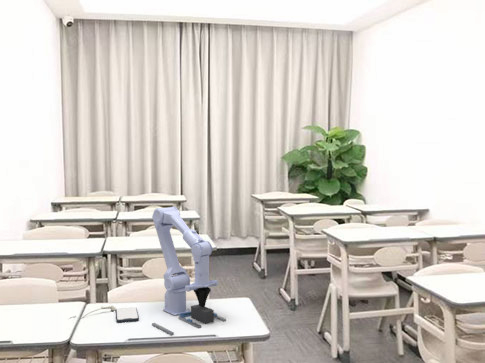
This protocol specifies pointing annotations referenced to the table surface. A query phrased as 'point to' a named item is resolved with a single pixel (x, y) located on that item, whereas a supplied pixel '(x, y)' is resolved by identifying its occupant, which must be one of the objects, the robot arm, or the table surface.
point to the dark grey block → (202, 314)
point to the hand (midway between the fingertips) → (202, 306)
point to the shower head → (105, 308)
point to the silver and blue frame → (189, 321)
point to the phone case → (127, 315)
